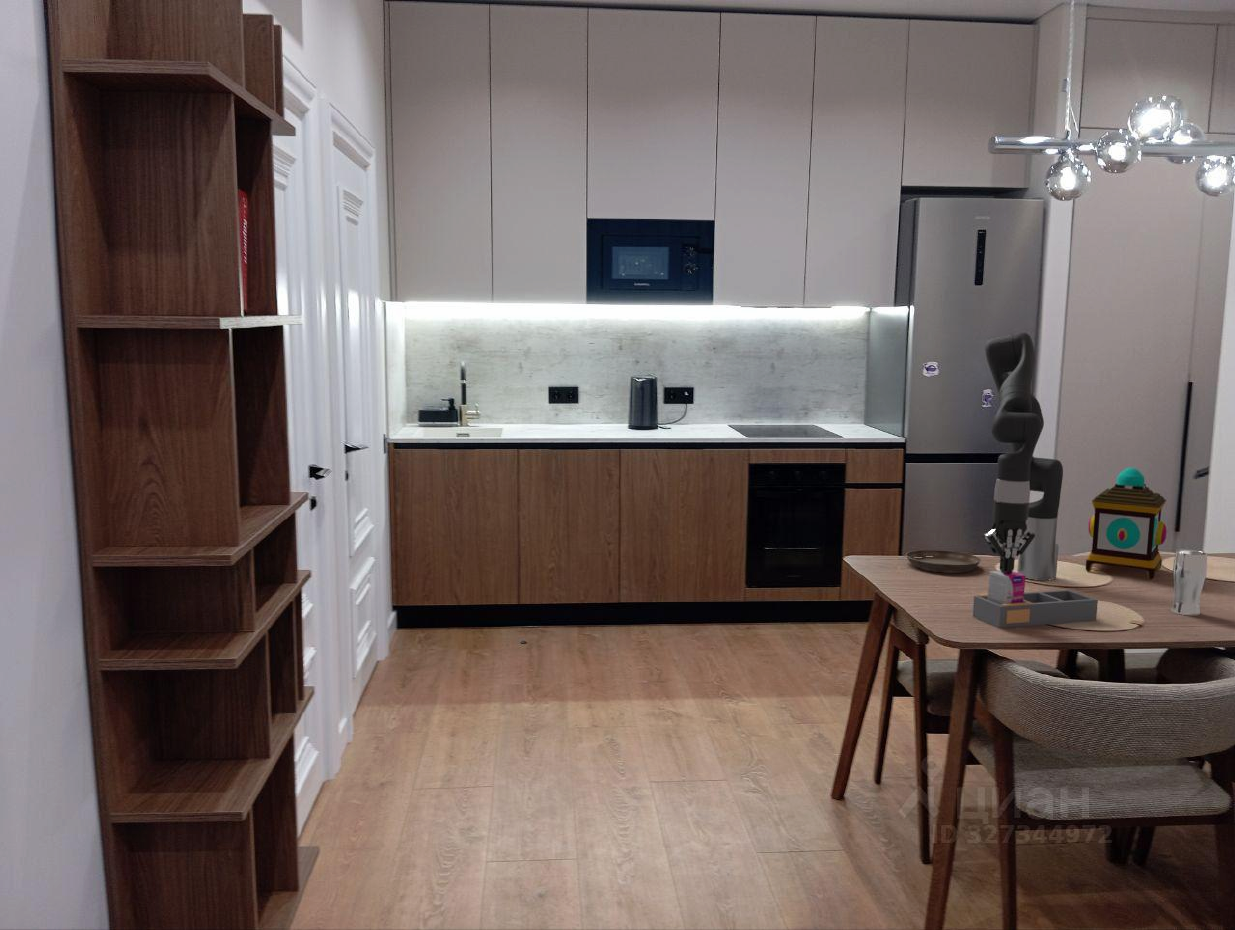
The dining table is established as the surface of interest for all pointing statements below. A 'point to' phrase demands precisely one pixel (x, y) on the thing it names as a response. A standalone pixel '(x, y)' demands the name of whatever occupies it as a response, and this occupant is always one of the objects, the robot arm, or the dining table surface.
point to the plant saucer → (943, 561)
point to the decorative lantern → (1127, 525)
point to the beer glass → (1188, 581)
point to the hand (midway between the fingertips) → (1006, 572)
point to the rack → (1037, 609)
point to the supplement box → (1006, 587)
